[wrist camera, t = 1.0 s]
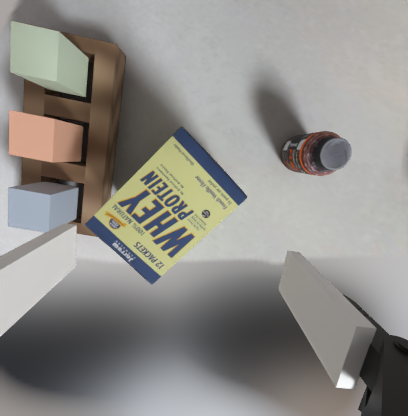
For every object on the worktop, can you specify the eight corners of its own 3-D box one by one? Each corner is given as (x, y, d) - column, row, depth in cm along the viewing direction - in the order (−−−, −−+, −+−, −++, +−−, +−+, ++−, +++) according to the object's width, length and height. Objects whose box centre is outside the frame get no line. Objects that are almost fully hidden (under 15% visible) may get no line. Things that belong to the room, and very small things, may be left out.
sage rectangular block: (50, 49, 31) (10, 20, 25) (88, 58, 32) (59, 31, 25) (49, 89, 32) (9, 71, 26) (85, 97, 33) (56, 81, 26)
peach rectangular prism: (47, 119, 33) (9, 110, 27) (83, 126, 34) (54, 119, 27) (46, 154, 34) (8, 154, 28) (80, 161, 35) (52, 162, 28)
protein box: (230, 181, 40) (250, 196, 25) (167, 241, 42) (150, 288, 27) (187, 135, 39) (181, 122, 23) (123, 200, 41) (80, 227, 25)
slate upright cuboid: (44, 181, 35) (8, 187, 28) (78, 187, 36) (50, 195, 29) (43, 213, 36) (7, 226, 29) (76, 218, 37) (48, 233, 30)
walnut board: (44, 38, 35) (25, 23, 31) (125, 56, 36) (117, 44, 32) (37, 217, 41) (20, 224, 37) (107, 229, 41) (97, 236, 38)
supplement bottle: (272, 151, 39) (302, 149, 28) (302, 128, 39) (344, 117, 28) (292, 178, 41) (328, 187, 30) (321, 157, 40) (368, 157, 29)
